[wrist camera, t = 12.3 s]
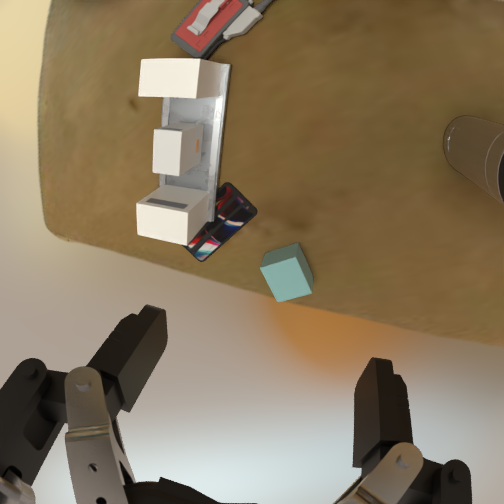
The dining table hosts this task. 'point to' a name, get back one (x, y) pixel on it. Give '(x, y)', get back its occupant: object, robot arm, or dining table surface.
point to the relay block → (287, 272)
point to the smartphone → (222, 222)
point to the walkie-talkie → (215, 24)
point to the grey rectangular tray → (212, 142)
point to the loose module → (177, 148)
